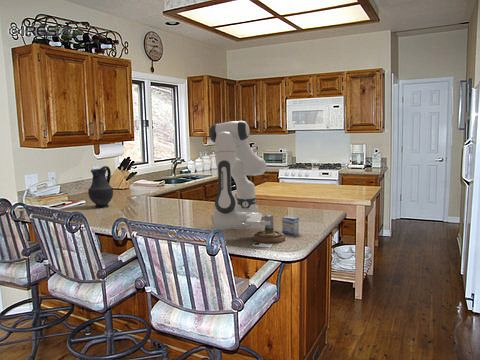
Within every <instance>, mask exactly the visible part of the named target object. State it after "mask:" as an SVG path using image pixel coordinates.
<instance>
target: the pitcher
mask: <svg viewBox="0 0 480 360" xmlns="http://www.w3.org/2000/svg"><path fill="white" fill-rule="evenodd" d="M90 172H91V175H92V183H91V185H90V187H89V188H88V191H87V192H88V194H87V195H88V198H89V200H91V202H92V203H93V204H95V206H94V208H96V209H102V208H108V207H109V203H110V202H111V201H112V199H113V197H114V189H113V187H112V185H110V182H111V177H112V176H111V175H112V173H111V172H112V171H111V168H110V166H108V165H103V166H102V167H100V168H91V169H90ZM106 173H107V177H106Z"/></svg>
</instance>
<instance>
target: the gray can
mask: <svg viewBox="0 0 480 360" xmlns="http://www.w3.org/2000/svg"><path fill="white" fill-rule="evenodd" d="M264 216H265V220H264V221H271V224H270V225H264V230H265V232H263V235H265V236H274V235H276V233H275V232H274V231H275V230H274V214H265V215H264Z"/></svg>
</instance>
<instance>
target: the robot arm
mask: <svg viewBox="0 0 480 360" xmlns="http://www.w3.org/2000/svg"><path fill="white" fill-rule="evenodd" d="M250 131H251V130H250V127H249V123H248V122H246V121H244V120H238V121H237V120H235V121H234V120H232V121H225V122H220V123H215V124H212V125H211V126H210V128H209V137H210V141H211V142H213V143H214V158H215V165H216V170H217V181H218V183H217V184H218V185H217V187H218V190H217V195H216V197H215V200H214V206H215V209H214V210H213V212H212V213H211V223H212V225H213V227H214V228H216V229H219V230H232V229H235V230H247V229H253V230H255V229H256V230H257V229H261V228H262V227H263V226H264V227H265V225H270V224H271V221H265V215H263V213H260V212H259V207H258V205H257V197H256V186H255V184H254V182H252V181H250V180H249V179H248V177H247V176H261V175H264V174H265V172H266V170H267V162H266V161H265V159H264V158H262V157H261V156H259V155H257V154H256V153H255V152H254V151H253V150H252V149H251V146H250V144H249V140H248V138H249V137H250ZM232 179H233V180H234V182H235V186H236V196H235V195H234V194H233V193H232Z"/></svg>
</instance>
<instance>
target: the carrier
mask: <svg viewBox="0 0 480 360" xmlns="http://www.w3.org/2000/svg"><path fill="white" fill-rule="evenodd" d="M263 232H265V229H264V230H260V231H257V232H256V233H253V241H254V242H257V243H261V244H278V243H282V242H284V241H285V240H286V234H285V233H282V231H278V230H274V232H275V233H276V235H274V236H265V235H263Z"/></svg>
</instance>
